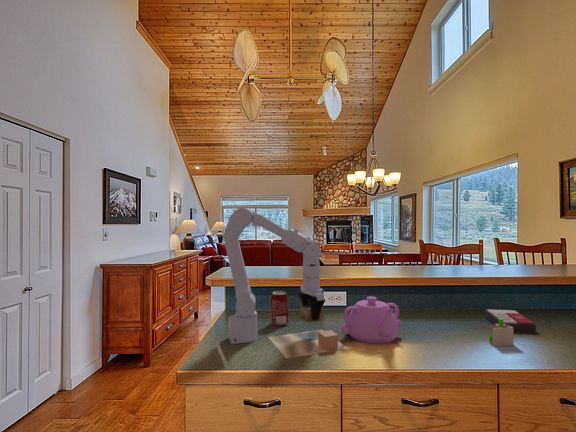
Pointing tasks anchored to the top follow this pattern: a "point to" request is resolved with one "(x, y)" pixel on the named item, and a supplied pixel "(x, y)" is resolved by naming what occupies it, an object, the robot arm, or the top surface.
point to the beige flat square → (300, 344)
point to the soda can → (279, 308)
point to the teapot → (372, 321)
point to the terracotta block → (328, 340)
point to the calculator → (510, 320)
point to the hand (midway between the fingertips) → (311, 317)
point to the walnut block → (309, 314)
